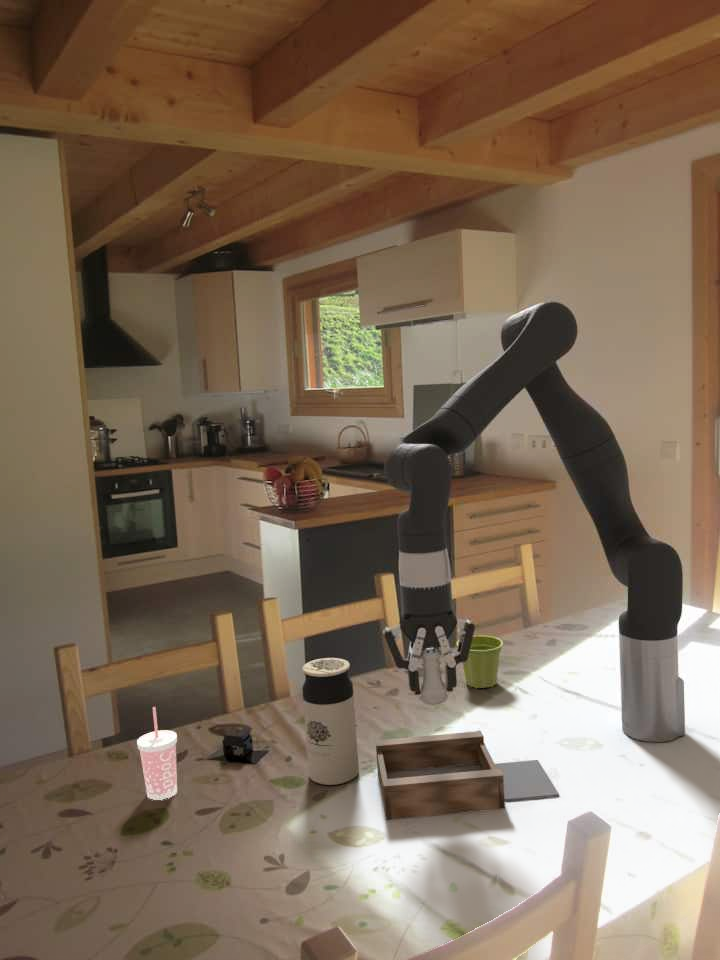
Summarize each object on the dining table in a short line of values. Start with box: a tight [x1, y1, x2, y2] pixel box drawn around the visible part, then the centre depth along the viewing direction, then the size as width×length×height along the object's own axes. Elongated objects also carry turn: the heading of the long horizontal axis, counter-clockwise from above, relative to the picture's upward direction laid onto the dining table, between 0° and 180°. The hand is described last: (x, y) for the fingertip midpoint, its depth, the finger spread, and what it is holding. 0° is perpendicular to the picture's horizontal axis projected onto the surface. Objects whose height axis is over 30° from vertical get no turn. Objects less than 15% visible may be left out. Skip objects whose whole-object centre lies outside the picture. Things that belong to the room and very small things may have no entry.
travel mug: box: [301, 657, 360, 786], centre depth 124 cm, size 8×8×18 cm
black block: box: [206, 727, 270, 766], centre depth 134 cm, size 12×7×5 cm, turn 70°
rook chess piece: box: [418, 647, 449, 706], centre depth 116 cm, size 4×4×8 cm
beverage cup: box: [136, 706, 178, 801], centre depth 122 cm, size 6×6×14 cm
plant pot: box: [456, 635, 504, 689], centre depth 159 cm, size 9×9×9 cm
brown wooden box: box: [375, 730, 506, 821], centre depth 118 cm, size 17×15×5 cm
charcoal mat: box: [494, 759, 560, 802], centre depth 119 cm, size 8×11×1 cm
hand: (433, 690), depth 116 cm, fingers closed on rook chess piece, 4 cm apart
